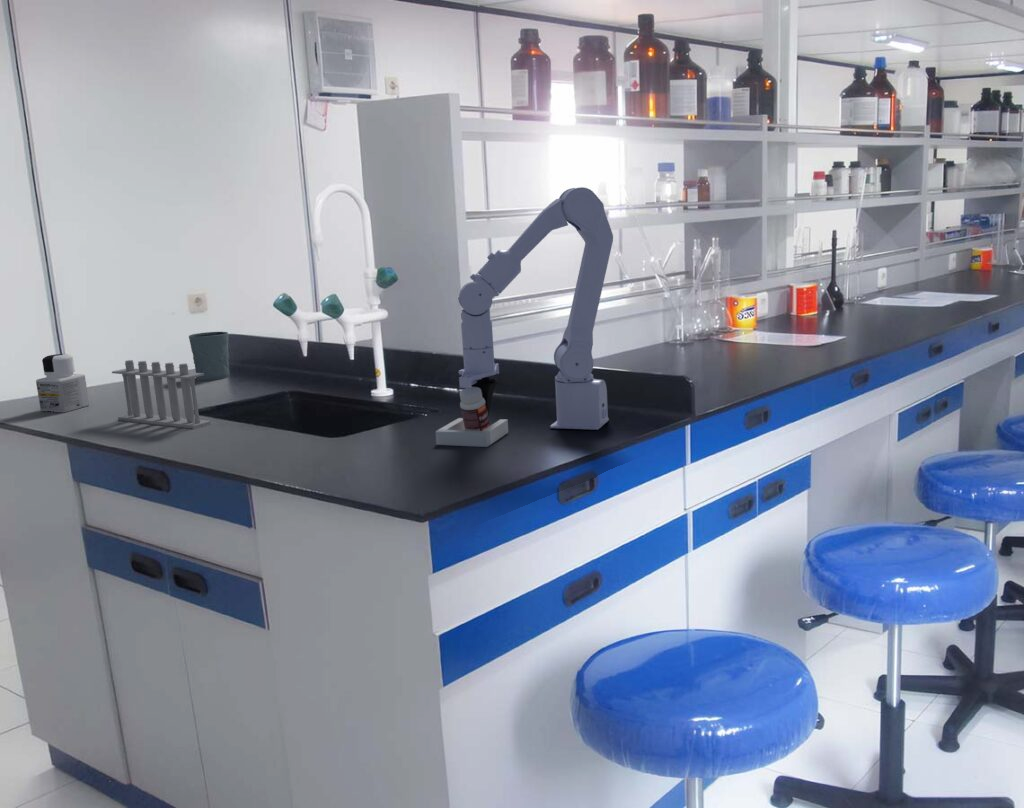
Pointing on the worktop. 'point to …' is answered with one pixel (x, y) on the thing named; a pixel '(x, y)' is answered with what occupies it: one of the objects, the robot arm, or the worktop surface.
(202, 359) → the dark green cup
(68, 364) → the container
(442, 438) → the square dock
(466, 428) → the pill bottle
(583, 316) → the robot arm
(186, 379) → the test tube rack
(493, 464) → the worktop surface
